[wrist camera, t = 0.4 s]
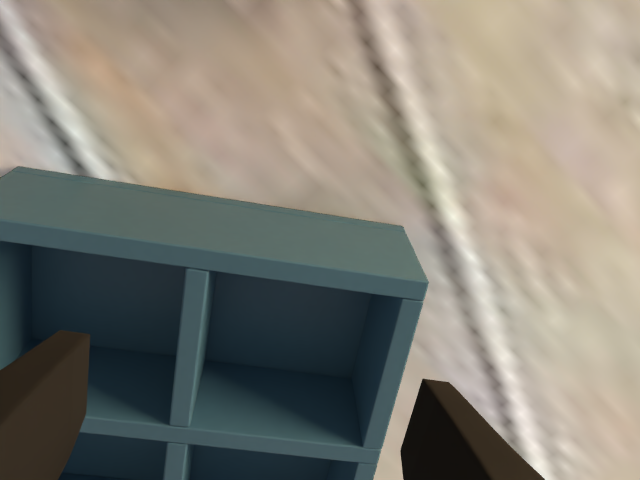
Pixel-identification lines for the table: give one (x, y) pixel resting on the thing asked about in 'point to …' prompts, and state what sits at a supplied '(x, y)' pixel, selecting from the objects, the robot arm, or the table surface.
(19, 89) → the table surface
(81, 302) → the carrier
